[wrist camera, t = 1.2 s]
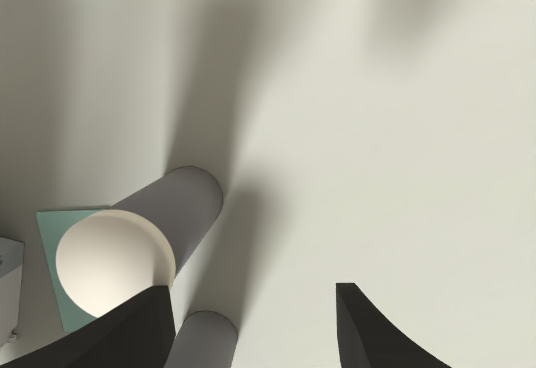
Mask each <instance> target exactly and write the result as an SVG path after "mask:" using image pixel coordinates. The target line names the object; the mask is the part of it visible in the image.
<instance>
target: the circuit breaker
mask: <svg viewBox="0 0 536 368" xmlns="http://www.w3.org/2000/svg"><path fill="white" fill-rule="evenodd" d="M23 255H24V243H22V242H18V241H14V240H10V239H6V238H2V237H0V348H1V347H3V346H4V345H5V344H6V343H7V342H9V343H13V342H15V341H16V338H17V335H15V334H12V329H14V328H15V327H16V326H17V325H18V314H19V303H20V291H21V279H22V267H23V264H22V263H23Z"/></svg>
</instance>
